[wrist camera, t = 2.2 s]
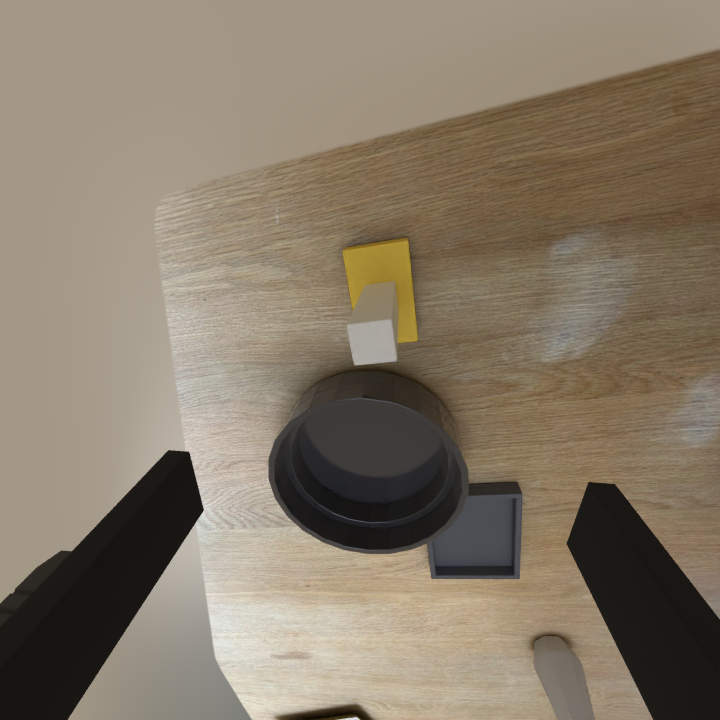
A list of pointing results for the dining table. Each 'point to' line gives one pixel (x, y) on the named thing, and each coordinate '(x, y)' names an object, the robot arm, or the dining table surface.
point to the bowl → (369, 464)
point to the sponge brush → (380, 300)
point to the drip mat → (481, 536)
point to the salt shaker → (562, 679)
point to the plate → (341, 717)
